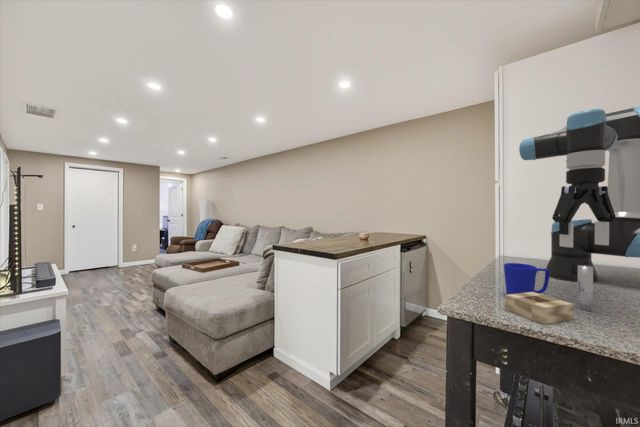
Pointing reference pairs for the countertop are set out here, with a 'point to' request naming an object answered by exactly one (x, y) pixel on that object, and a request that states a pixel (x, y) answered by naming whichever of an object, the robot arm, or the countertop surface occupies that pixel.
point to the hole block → (539, 307)
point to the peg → (585, 288)
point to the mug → (523, 278)
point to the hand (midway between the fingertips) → (584, 245)
